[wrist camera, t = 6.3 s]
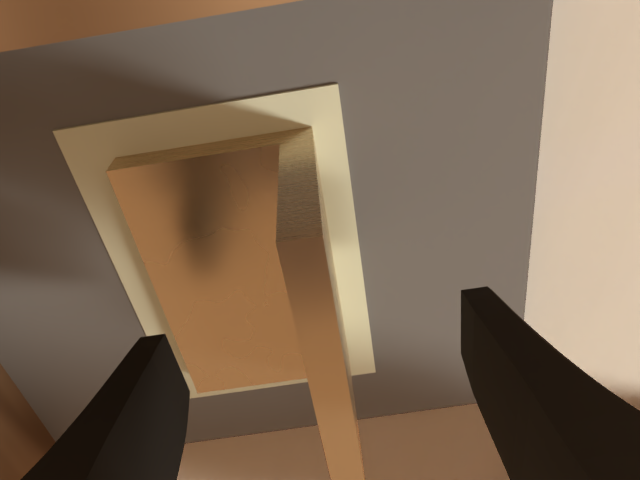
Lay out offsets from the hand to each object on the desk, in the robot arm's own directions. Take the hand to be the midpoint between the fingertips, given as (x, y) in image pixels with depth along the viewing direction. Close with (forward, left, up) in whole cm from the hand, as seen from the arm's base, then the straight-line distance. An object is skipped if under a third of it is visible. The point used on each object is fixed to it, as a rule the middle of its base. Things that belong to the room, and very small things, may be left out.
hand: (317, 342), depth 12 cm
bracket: (+2, 0, -3) cm, 4 cm away
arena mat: (+3, 0, -4) cm, 5 cm away
